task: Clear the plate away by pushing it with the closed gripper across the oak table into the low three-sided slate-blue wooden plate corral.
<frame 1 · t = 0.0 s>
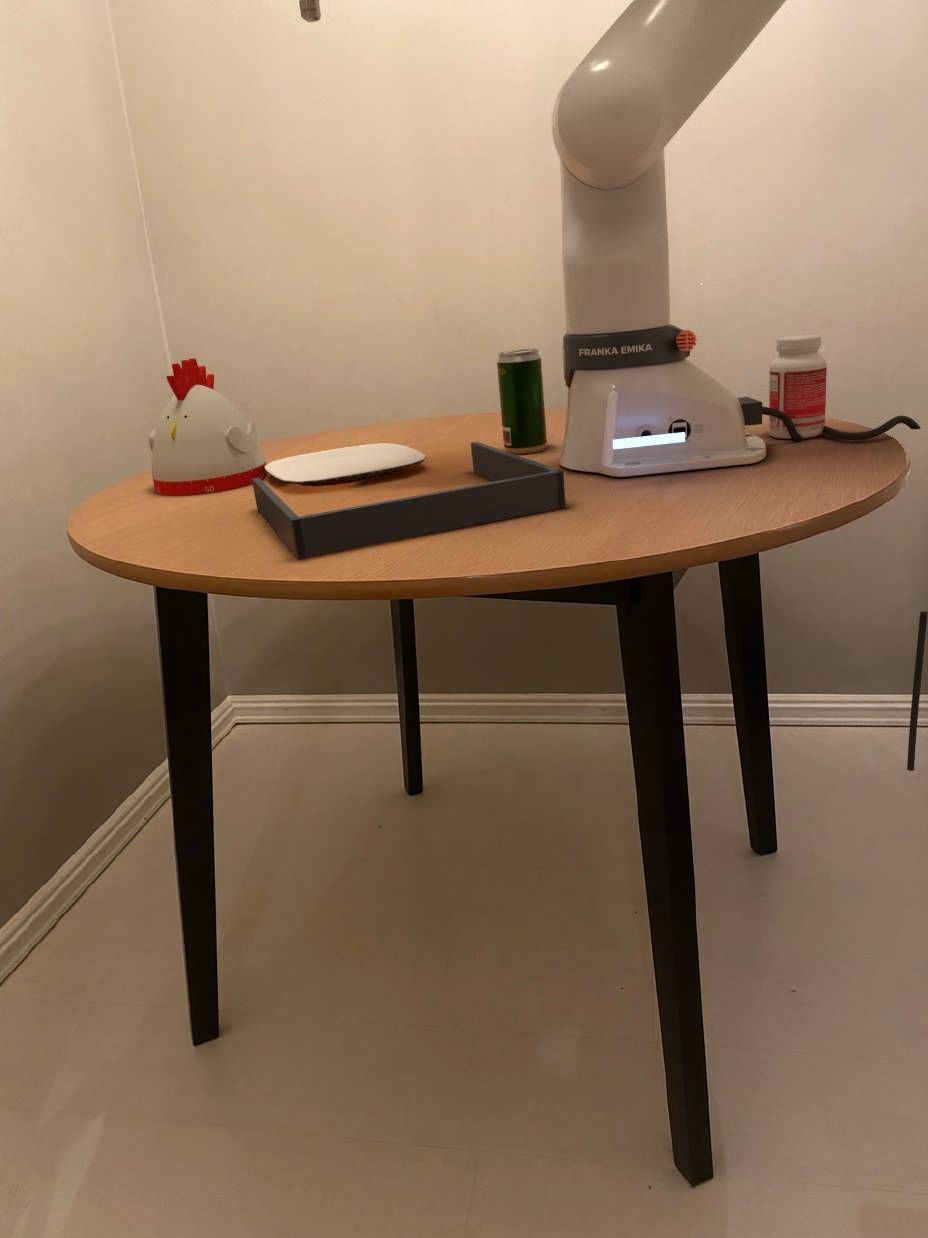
hand: (297, 9, 95), 48 cm above the table, tool pointing down, fingers open, 8 cm apart
kitchen timer: (212, 483, 118), on the table
beer can: (525, 451, 117), on the table
pill bottle: (796, 436, 110), on the table
plate: (345, 474, 115), on the table
corral: (400, 508, 94), on the table
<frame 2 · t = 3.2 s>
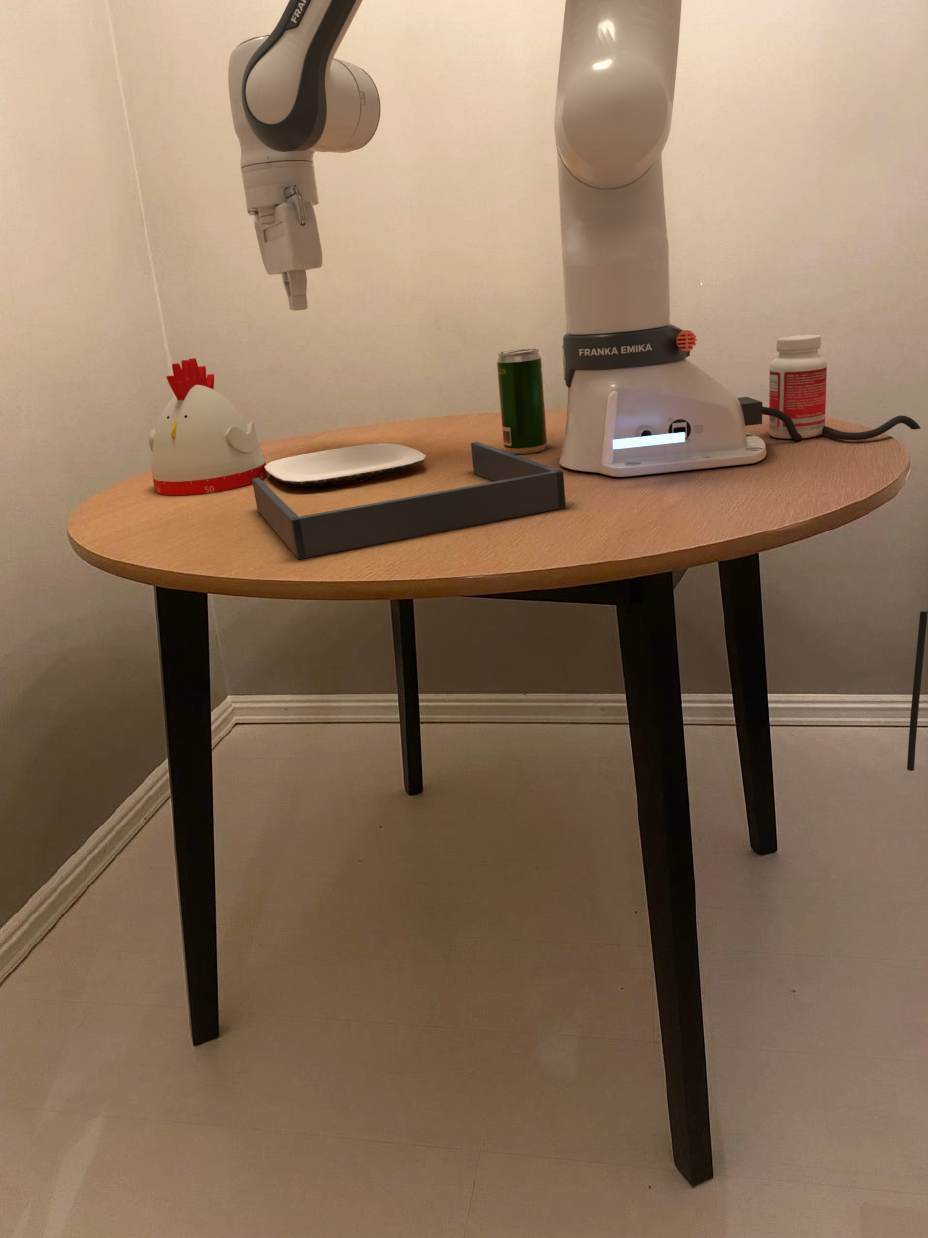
hand: (299, 309, 120), 19 cm above the table, tool pointing down, fingers closed
nothing on the table moved.
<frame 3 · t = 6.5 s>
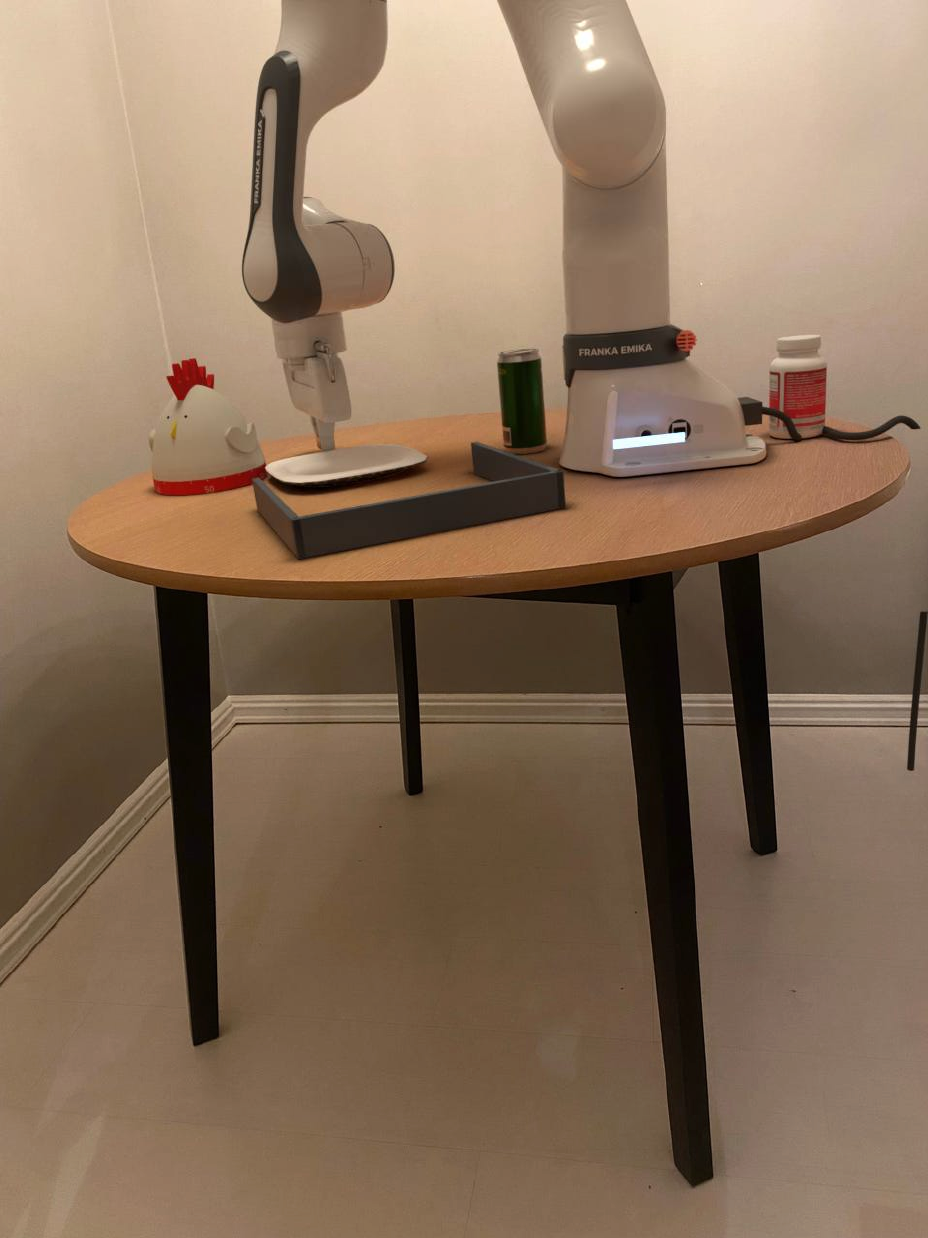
hand: (326, 449, 123), 2 cm above the table, tool pointing down, fingers closed
plate: (346, 475, 114), on the table, touching gripper
everything else where it was.
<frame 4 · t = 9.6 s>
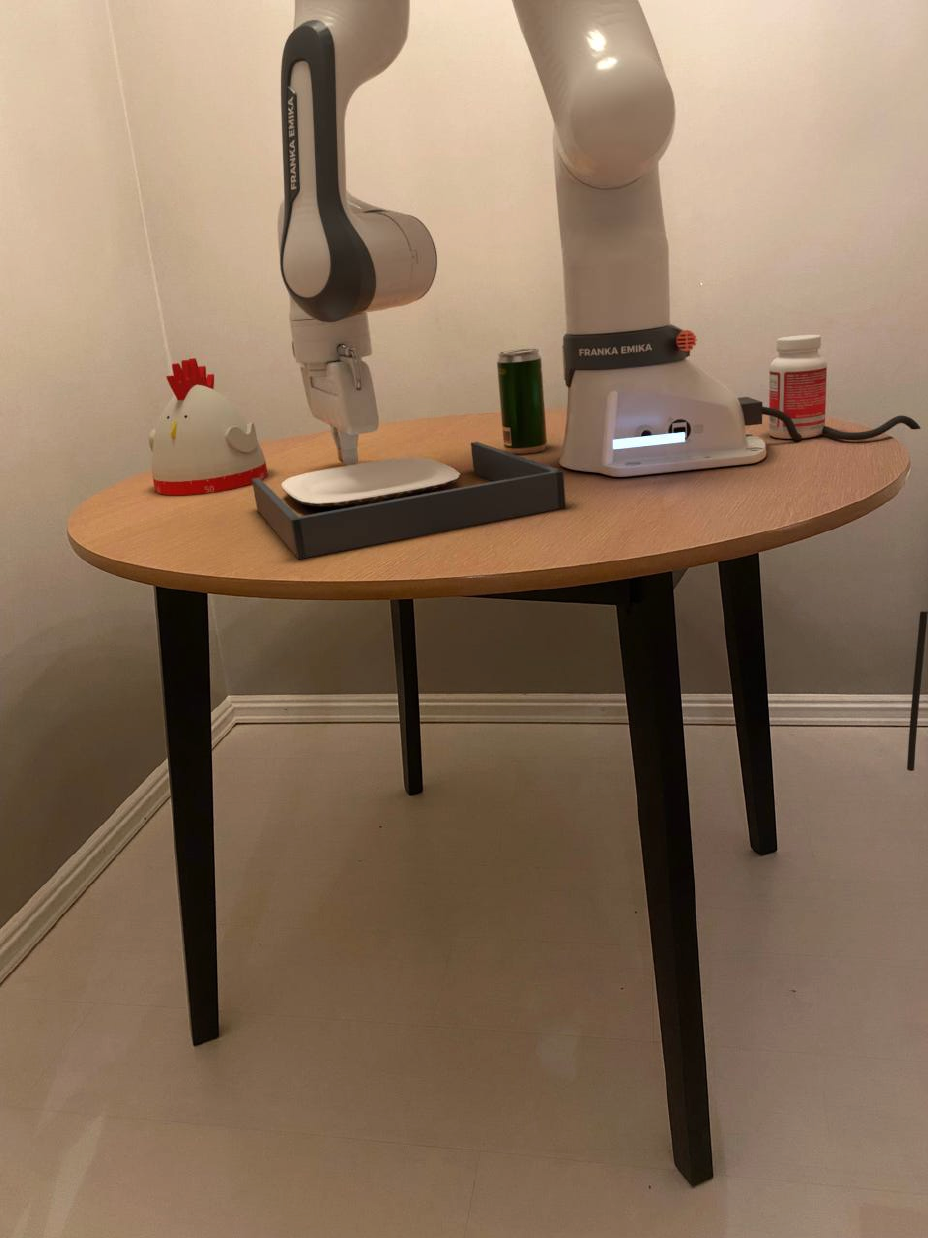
hand: (348, 463, 112), 2 cm above the table, tool pointing down, fingers closed
plate: (370, 493, 103), on the table, touching gripper
everything else where it was.
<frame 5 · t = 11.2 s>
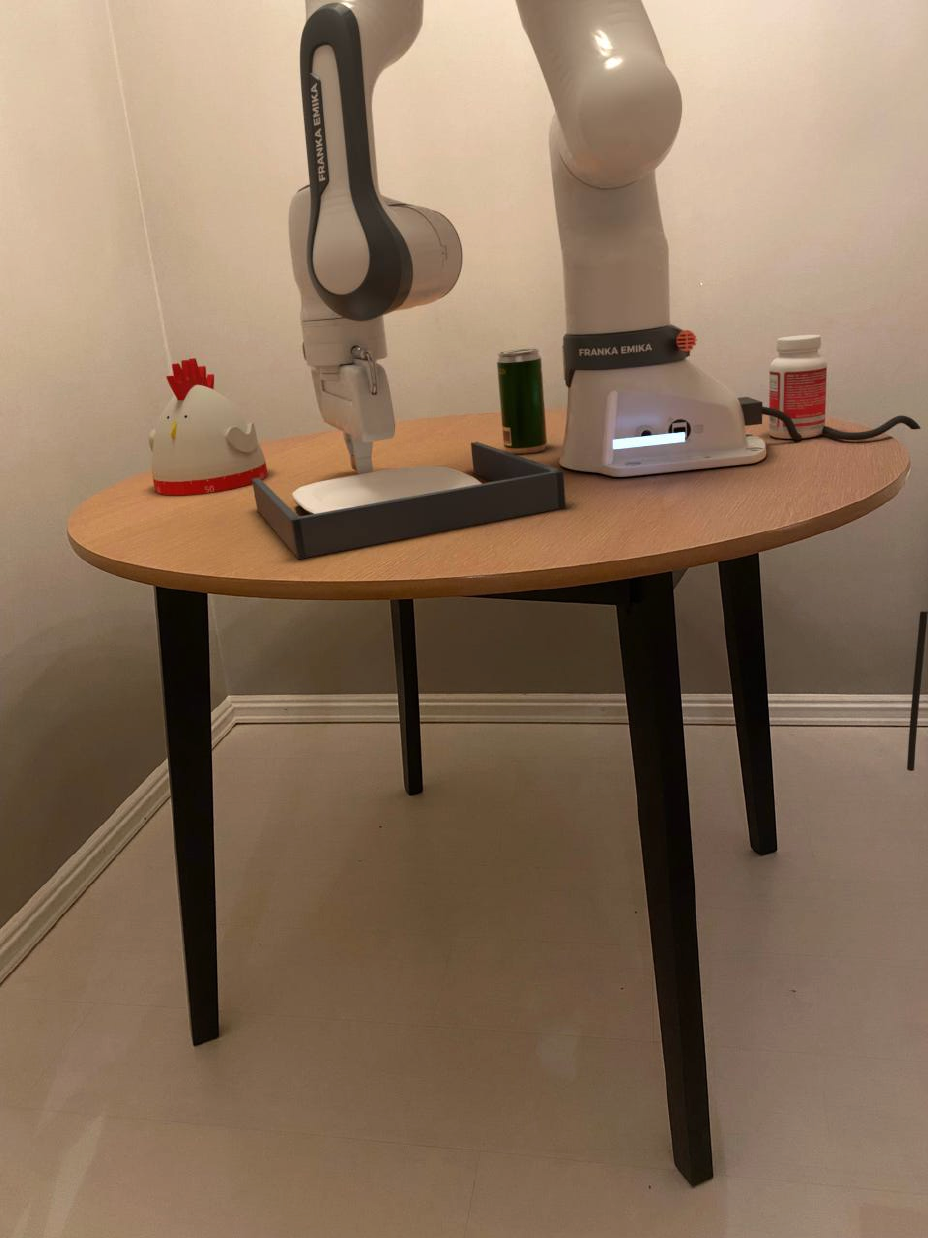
hand: (362, 471, 106), 2 cm above the table, tool pointing down, fingers closed
plate: (386, 504, 98), on the table, touching gripper
everything else where it was.
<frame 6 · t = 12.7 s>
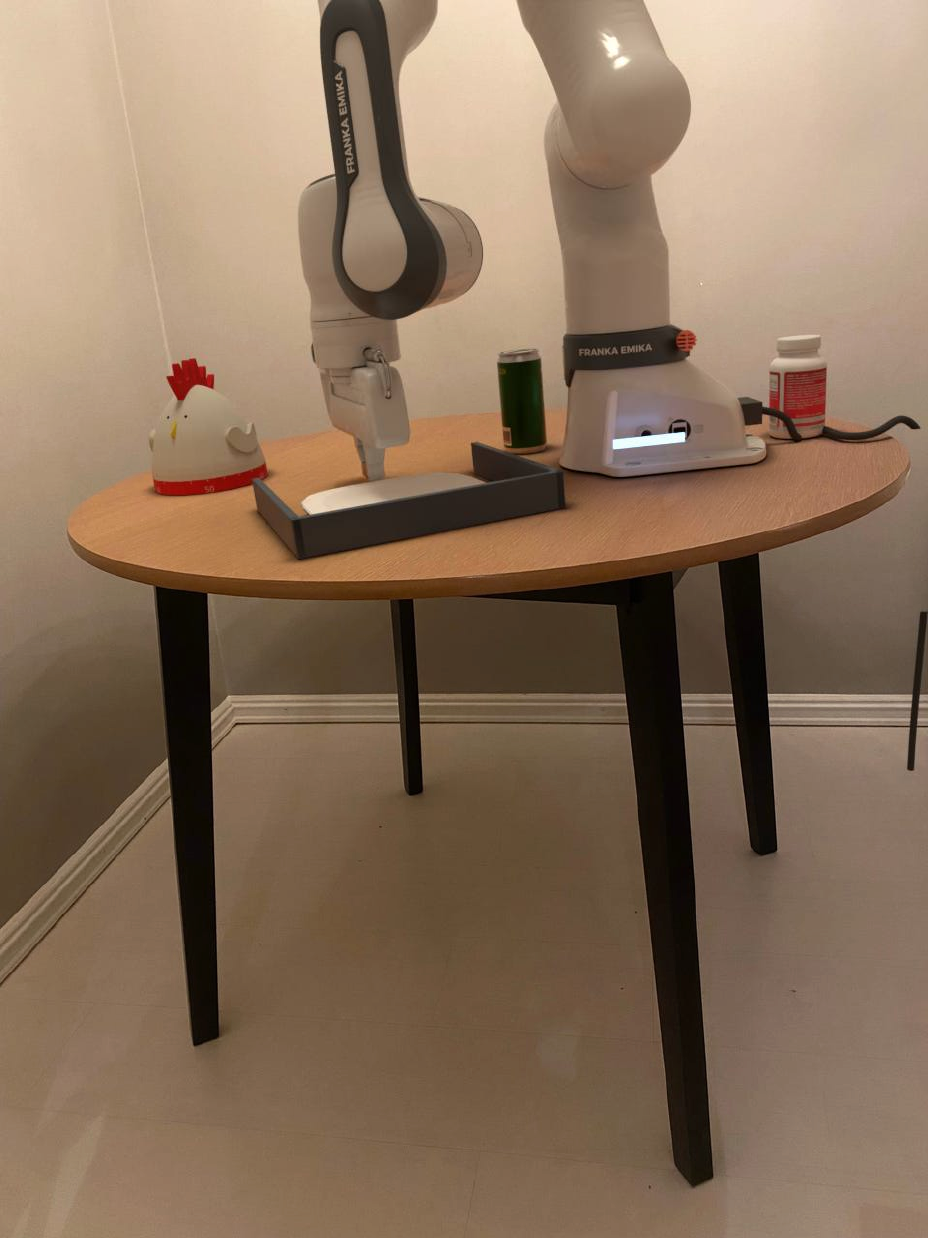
hand: (374, 478, 102), 2 cm above the table, tool pointing down, fingers closed
plate: (400, 513, 93), on the table, touching gripper
everything else where it was.
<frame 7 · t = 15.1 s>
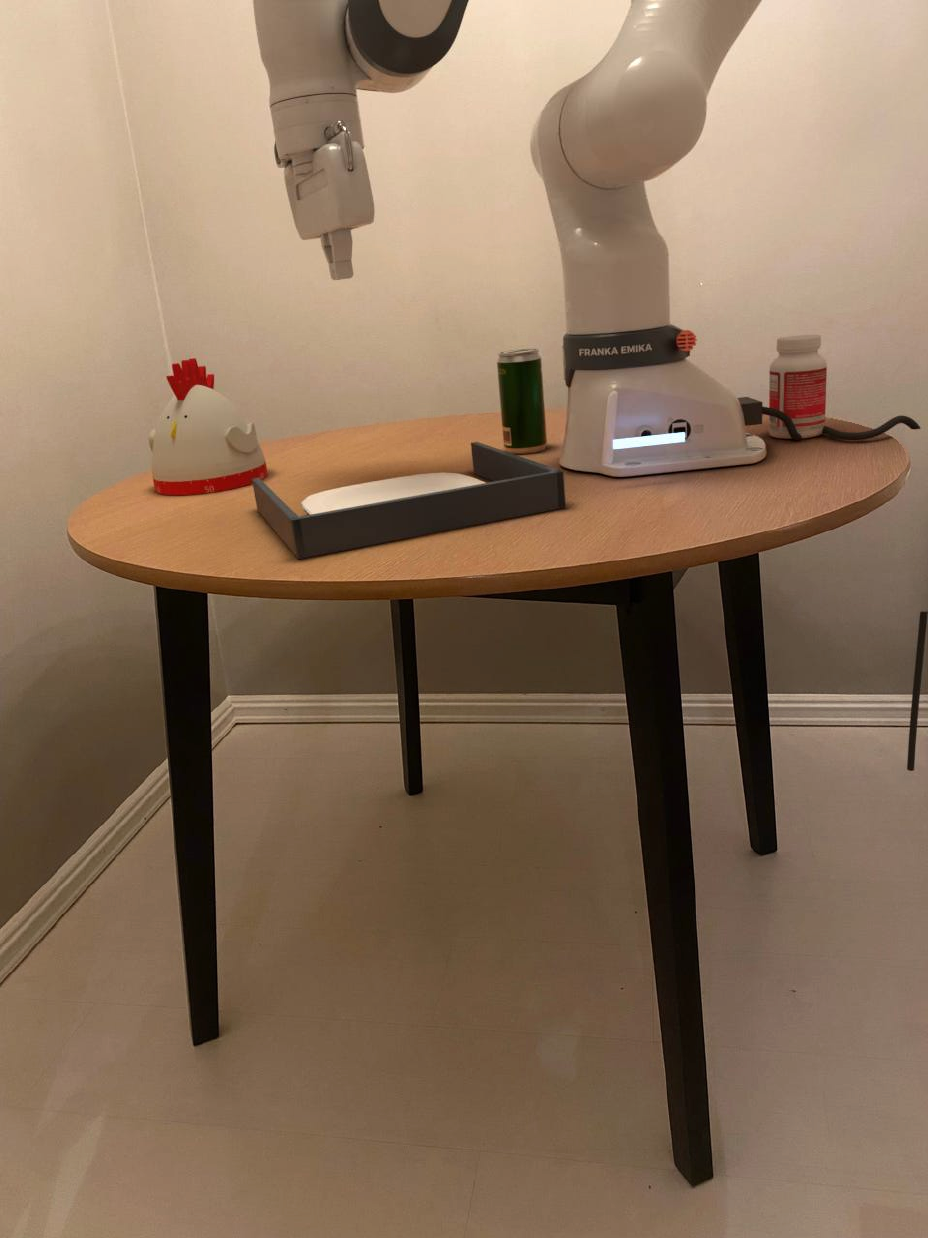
hand: (342, 279, 100), 22 cm above the table, tool pointing down, fingers closed
plate: (400, 513, 93), on the table
everything else where it was.
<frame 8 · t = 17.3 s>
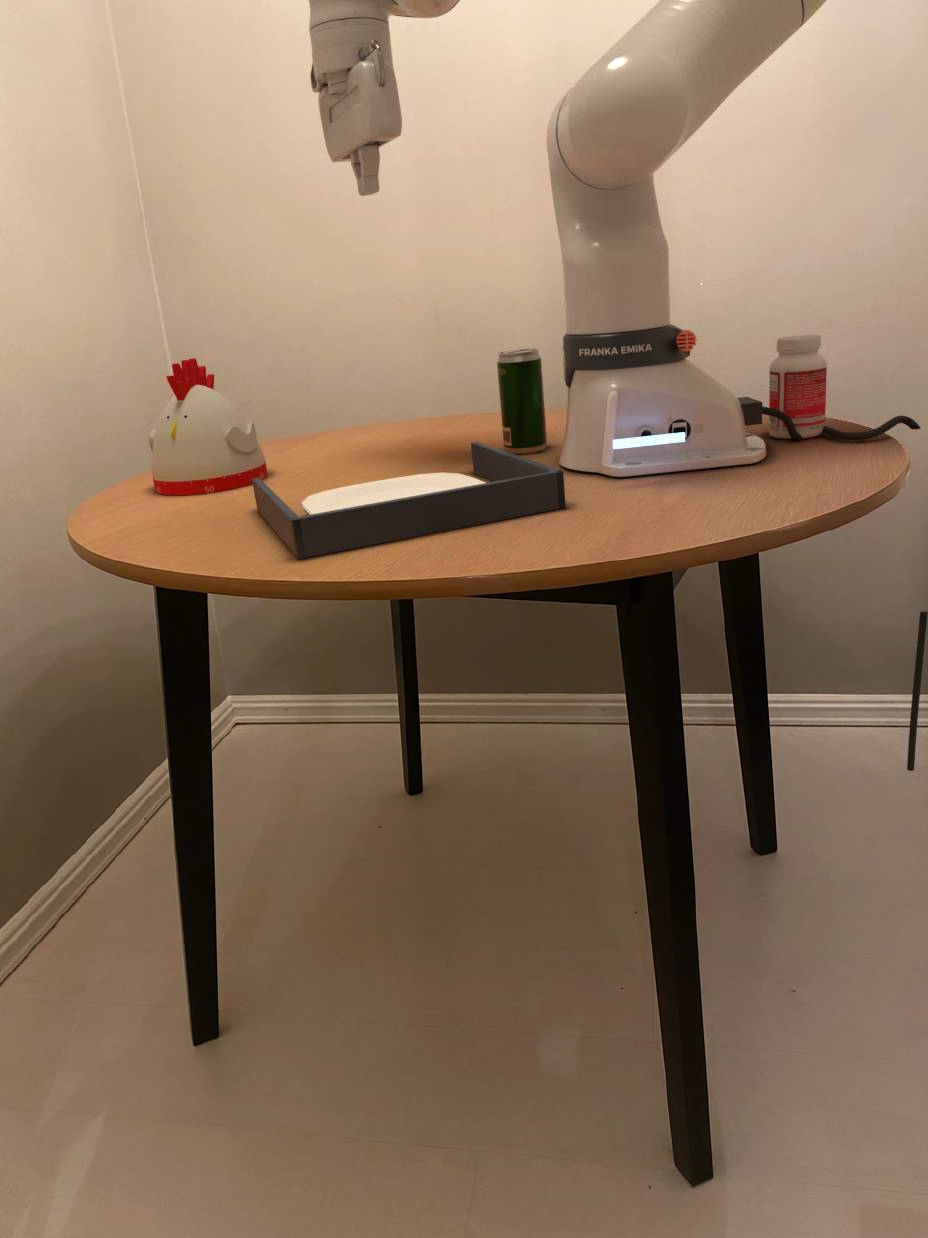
hand: (369, 194, 109), 31 cm above the table, tool pointing down, fingers closed
nothing on the table moved.
at the end: plate inside the target area on the corral (1.4 cm from its centre), point 0.0 cm above the corral's base; plate moved 24.4 cm from its start; plate tilted 0° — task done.
